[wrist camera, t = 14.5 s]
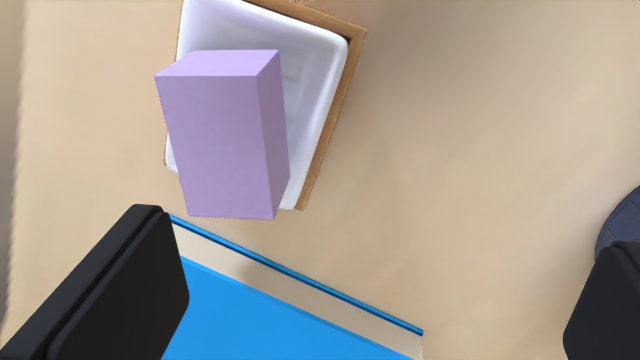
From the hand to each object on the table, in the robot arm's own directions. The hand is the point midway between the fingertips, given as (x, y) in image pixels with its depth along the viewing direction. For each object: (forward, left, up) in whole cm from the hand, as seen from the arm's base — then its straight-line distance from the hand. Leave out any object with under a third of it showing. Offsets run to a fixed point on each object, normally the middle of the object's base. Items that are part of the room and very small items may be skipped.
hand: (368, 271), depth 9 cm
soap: (+2, -7, -14) cm, 16 cm away
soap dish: (+2, -7, -19) cm, 21 cm away
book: (+26, -10, -19) cm, 34 cm away
